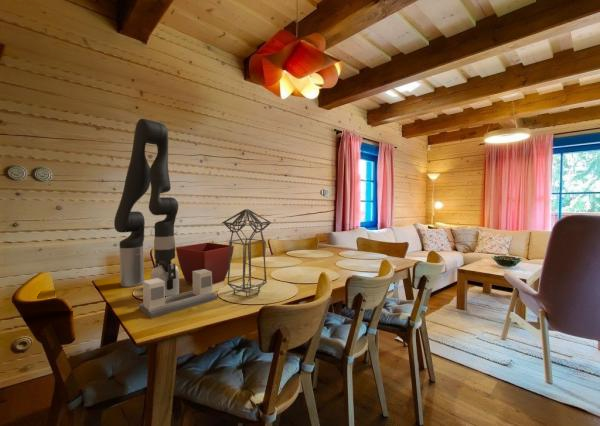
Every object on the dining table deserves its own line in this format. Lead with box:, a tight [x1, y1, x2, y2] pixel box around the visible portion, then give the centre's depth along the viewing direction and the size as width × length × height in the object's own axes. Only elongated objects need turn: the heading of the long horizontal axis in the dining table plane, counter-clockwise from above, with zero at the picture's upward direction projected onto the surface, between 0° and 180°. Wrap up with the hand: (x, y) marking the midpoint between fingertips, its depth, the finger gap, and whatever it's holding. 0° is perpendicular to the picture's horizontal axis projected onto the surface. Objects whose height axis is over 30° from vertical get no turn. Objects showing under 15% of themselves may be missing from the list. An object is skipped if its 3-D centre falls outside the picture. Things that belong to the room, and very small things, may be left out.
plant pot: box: [175, 242, 235, 285], centre depth 133 cm, size 19×19×17 cm
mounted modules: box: [142, 269, 213, 309], centre depth 104 cm, size 6×23×9 cm, turn 137°
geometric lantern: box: [220, 208, 272, 298], centre depth 115 cm, size 16×16×35 cm
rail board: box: [138, 290, 218, 319], centre depth 105 cm, size 12×24×2 cm, turn 137°
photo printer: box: [150, 265, 180, 297], centre depth 113 cm, size 10×4×12 cm, turn 123°
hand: (165, 287), depth 113 cm, fingers open, 8 cm apart
